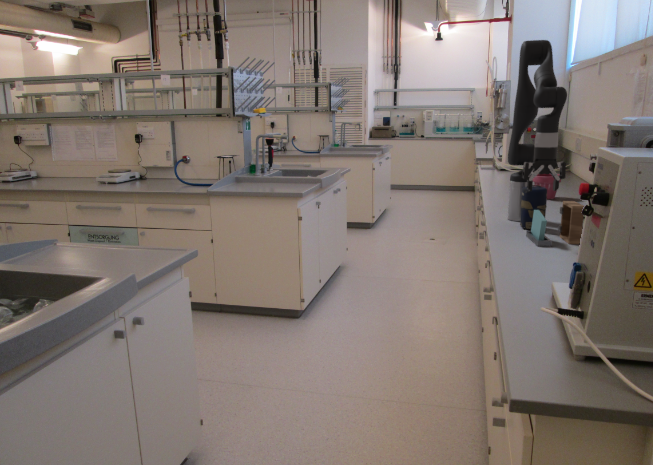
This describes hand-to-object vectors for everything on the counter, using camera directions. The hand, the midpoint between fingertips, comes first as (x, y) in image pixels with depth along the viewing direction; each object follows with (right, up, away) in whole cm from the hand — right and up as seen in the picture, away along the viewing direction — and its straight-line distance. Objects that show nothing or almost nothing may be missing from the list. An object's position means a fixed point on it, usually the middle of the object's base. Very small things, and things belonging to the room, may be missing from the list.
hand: (542, 190), depth 178 cm
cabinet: (+12, -18, +4) cm, 22 cm away
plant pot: (+41, +3, +91) cm, 100 cm away
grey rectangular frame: (0, -18, +4) cm, 19 cm away
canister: (+6, -14, +24) cm, 29 cm away
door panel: (+1, -17, +6) cm, 18 cm away
